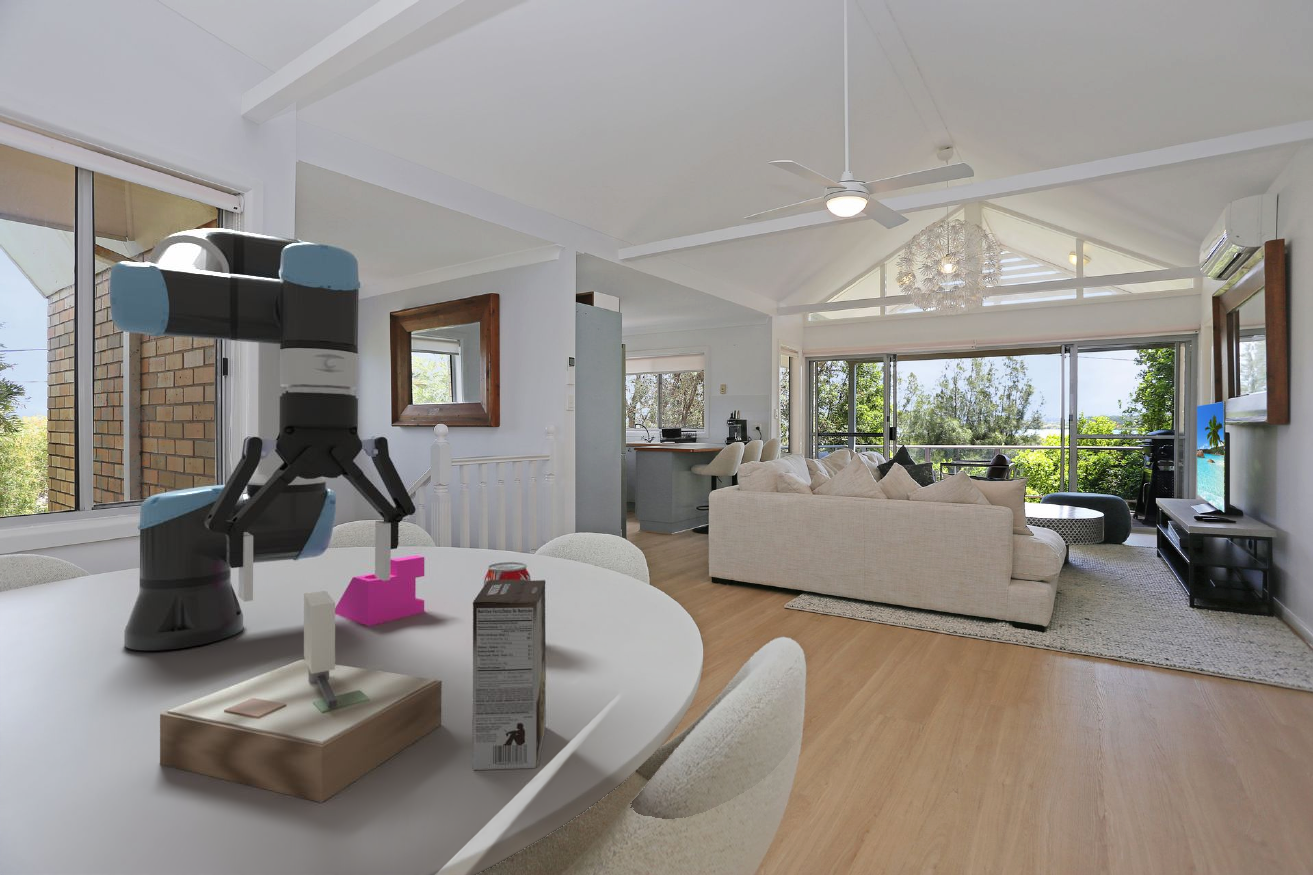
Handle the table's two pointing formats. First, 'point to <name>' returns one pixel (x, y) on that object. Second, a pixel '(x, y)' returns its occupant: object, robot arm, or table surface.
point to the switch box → (300, 728)
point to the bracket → (384, 594)
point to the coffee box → (509, 674)
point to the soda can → (507, 572)
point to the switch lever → (320, 641)
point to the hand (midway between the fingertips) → (318, 587)
